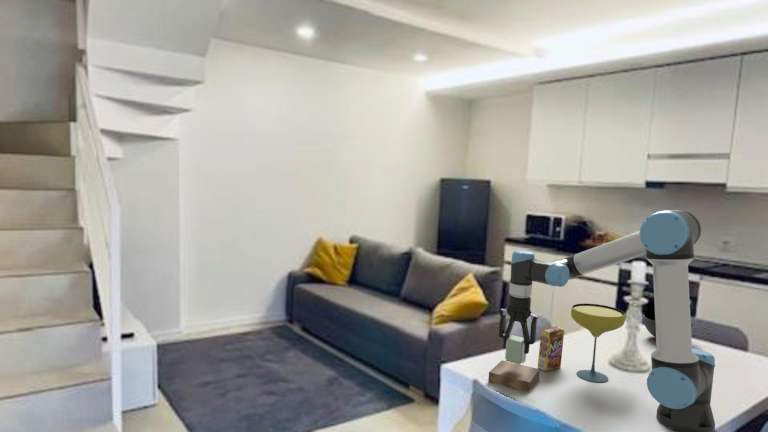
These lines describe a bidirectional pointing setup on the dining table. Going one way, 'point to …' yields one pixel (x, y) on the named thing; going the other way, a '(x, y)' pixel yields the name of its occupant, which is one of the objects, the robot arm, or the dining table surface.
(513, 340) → the sage block
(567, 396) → the dining table surface
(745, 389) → the dining table surface
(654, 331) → the coal bowl
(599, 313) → the cocktail glass
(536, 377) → the walnut plinth
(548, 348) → the candy box
